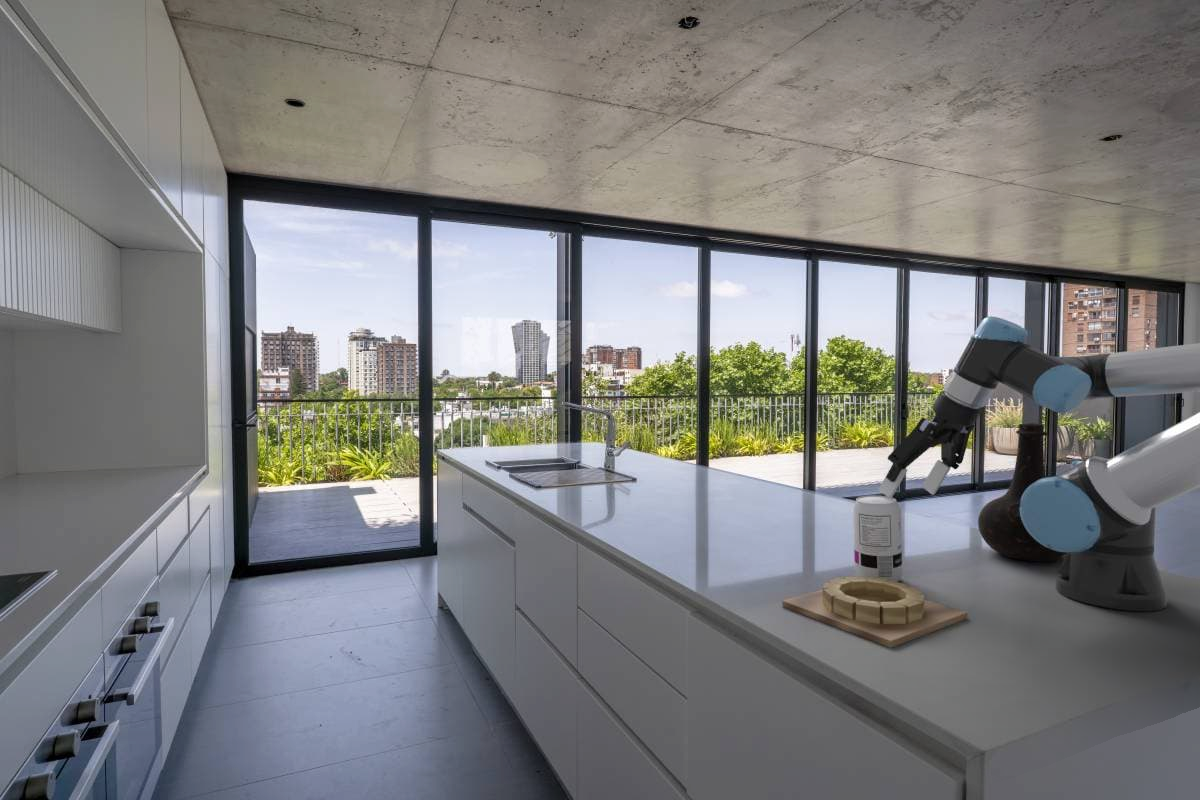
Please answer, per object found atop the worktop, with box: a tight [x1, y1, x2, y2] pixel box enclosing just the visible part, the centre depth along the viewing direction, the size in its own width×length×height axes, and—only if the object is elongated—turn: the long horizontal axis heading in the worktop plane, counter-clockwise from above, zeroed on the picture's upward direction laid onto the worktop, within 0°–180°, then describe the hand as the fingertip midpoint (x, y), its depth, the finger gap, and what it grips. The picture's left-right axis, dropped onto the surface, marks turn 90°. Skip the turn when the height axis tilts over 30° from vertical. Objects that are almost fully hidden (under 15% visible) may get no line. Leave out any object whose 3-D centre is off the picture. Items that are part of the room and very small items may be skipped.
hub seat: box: [781, 576, 968, 649], centre depth 108 cm, size 20×20×4 cm
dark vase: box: [977, 422, 1066, 563], centre depth 139 cm, size 18×18×28 cm
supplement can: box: [852, 494, 903, 582], centre depth 124 cm, size 8×8×15 cm
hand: (906, 492), depth 130 cm, fingers open, 13 cm apart
